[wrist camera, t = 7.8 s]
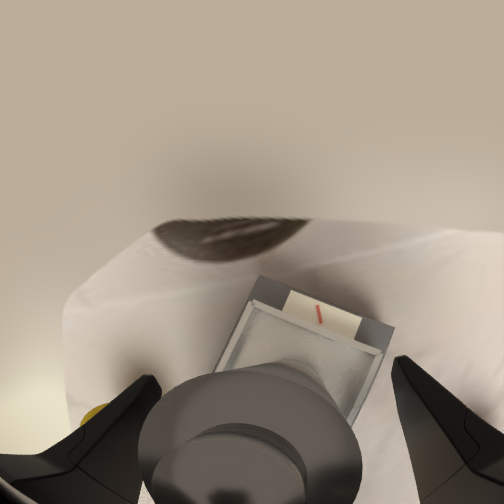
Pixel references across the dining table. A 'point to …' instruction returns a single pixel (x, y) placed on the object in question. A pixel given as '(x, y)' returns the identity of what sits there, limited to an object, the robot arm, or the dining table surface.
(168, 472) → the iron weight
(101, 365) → the dining table surface
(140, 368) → the dining table surface
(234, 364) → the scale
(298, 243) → the dining table surface
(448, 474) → the robot arm
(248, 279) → the dining table surface
